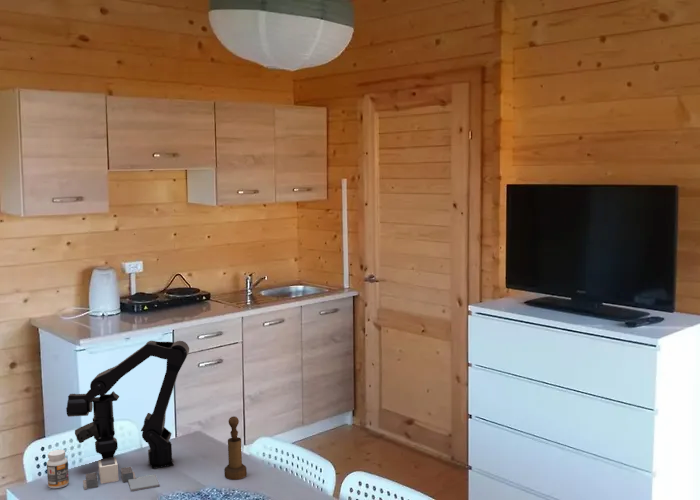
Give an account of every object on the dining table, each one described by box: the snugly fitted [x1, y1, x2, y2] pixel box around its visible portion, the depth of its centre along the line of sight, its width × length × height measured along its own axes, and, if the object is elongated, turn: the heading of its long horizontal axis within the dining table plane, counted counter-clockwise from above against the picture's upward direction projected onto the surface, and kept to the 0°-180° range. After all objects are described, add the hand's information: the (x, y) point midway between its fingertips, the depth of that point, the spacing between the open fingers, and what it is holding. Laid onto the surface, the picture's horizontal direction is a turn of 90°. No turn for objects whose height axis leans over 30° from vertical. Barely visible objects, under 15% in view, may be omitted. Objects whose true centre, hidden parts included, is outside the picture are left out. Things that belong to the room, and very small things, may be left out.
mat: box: [128, 473, 160, 492], centre depth 212 cm, size 8×8×1 cm
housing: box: [82, 466, 137, 491], centre depth 214 cm, size 15×6×2 cm, turn 113°
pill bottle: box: [46, 449, 70, 489], centre depth 212 cm, size 6×6×10 cm
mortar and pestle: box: [223, 415, 248, 480], centre depth 216 cm, size 7×6×18 cm
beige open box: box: [97, 456, 120, 484], centre depth 216 cm, size 5×6×6 cm
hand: (106, 463), depth 225 cm, fingers open, 8 cm apart
